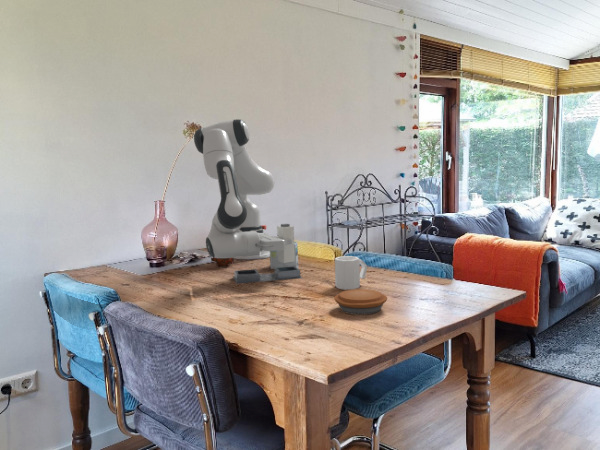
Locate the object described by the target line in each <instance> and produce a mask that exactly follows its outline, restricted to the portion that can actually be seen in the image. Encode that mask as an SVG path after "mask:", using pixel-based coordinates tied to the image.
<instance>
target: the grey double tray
mask: <svg viewBox="0 0 600 450" xmlns="http://www.w3.org/2000/svg"><path fill="white" fill-rule="evenodd" d="M273 271H274V272H271V273H260V272H259V271H258V270H257V269H256V268H253V269H243V270H242V269H241V270H234V272H233V273H234V276H233V275H232V278H233V280H234V282H235V283H236V285H237V284H247V283H248V284H250V283H260V282H261V283H262V282H274V281H282V280H283V281H285V280H287V281H288V280H297V279H303V276H301V270H300V269H299V267H298V268H297V267H296V266H290V267H277V268H274V269H273Z"/></svg>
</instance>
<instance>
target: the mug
mask: <svg viewBox="0 0 600 450" xmlns="http://www.w3.org/2000/svg"><path fill="white" fill-rule="evenodd" d="M360 265H361V269H360ZM334 270H335V273H334V274H335V275H334V278H335V285H334V286H335V287H336V288H337V289H340V290H343V291H348V290H356V289H359V288H360V287H361V279H363V280H364V279H366V274H367V270H368V265H367V264H366V262H365V261H364V260H362V259H360V258H359V257H358V256H351V255H349V256H348V255H346V256H345V255H343V256H338V257H334Z"/></svg>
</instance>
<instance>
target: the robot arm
mask: <svg viewBox="0 0 600 450" xmlns="http://www.w3.org/2000/svg"><path fill="white" fill-rule="evenodd" d="M249 141H250V130H249V127H248V125H247V124H246V122H245V121H244V120H243V119H237V118H236V119H232V120H227V121H221V122H217V123H214V124H211V125H208V126H205V127H200V128H198V129H196V131H195V132H194V134H193V142H194V143H193V144H194V145H195V148H196V150H197V151H198V152H199V153H201V154H202V156H203V164H204V168H205V172H206V174H207V175H208V176H209V177H210V178H212V179H215V180H217V182H218V187H219V193H220V203H219V205H218V208H217V210H216V212H215V214H214V216H213V218H212V220H211V226H210V231H209V233H208V235H207V237H206V238H205V248H206V250H207V253H208V254H209V256H210V257H211V258H213V257H214V258H234V259H237V260H257V259H268V258H270V251H280V250H284V249H285V245H287V244H292V240H291V239H285V240H283V239H280V238H277V236H275V235H272V234H269V233H264V231H266V230H267V228H268V227H267V225H266V224H264V225H263V224H261V210H260V207H259V206H258V204H255V203H254V202H252V201H251V200H250V198H249V196H259V195H266V194H269V193H271V192H272V191H273V189H274V187H275V178H274V175H273V174H272V172H271V171H268V170H266V169H264V168H262V167H261V166H260V165H259V164H257V162H255V161H254V160H253V159H252V156H251V155H250V153H249V151H248V149H247V147H246V144H247V143H249Z"/></svg>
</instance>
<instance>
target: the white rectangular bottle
mask: <svg viewBox="0 0 600 450" xmlns="http://www.w3.org/2000/svg"><path fill="white" fill-rule="evenodd" d="M276 232H277V233H276V235H277V236H276V237H277V238H280V239H283V240H285V239H291V240H292V244H287V245H285V249H284V250H280V251H278V261H279V262H283V263H287V262H295V252H294V242H295V226H293V225H291V224H290V223H281V224H280V225H279V226H278V225H277V226H276Z"/></svg>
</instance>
